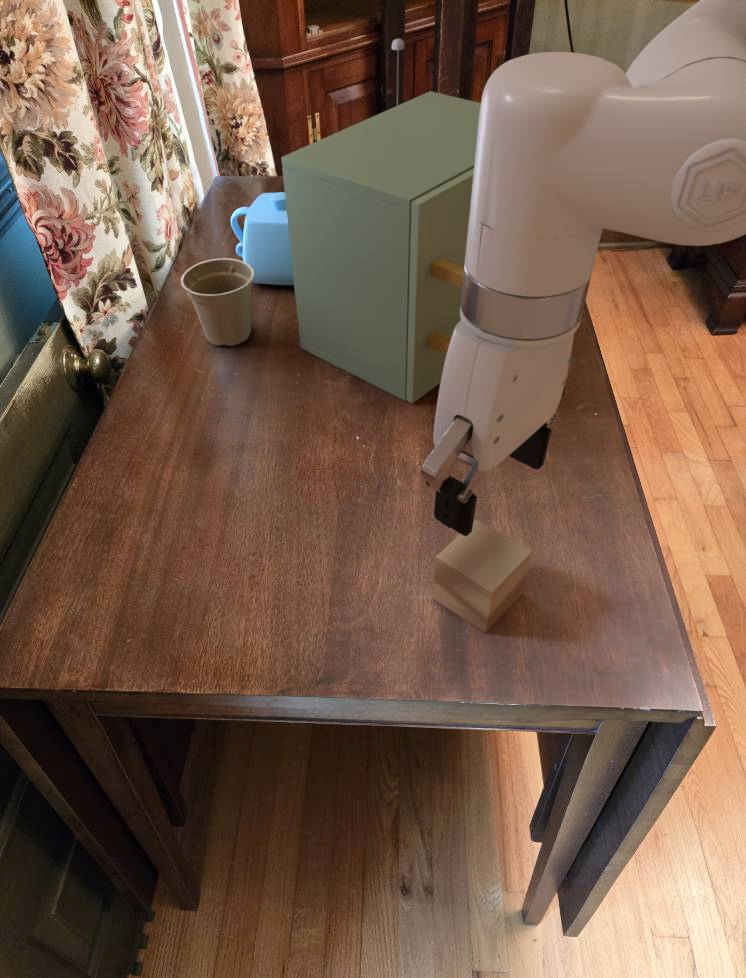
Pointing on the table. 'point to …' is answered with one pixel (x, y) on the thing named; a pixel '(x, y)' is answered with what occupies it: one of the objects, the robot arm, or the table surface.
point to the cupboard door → (435, 279)
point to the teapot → (266, 239)
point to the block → (480, 575)
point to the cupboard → (368, 229)
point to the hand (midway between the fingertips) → (489, 491)
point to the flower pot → (221, 298)
